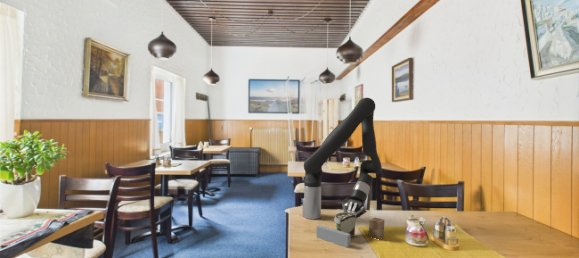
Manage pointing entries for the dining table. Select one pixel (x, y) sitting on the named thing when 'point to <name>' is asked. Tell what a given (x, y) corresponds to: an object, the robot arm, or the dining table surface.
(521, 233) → the dining table surface
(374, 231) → the walnut block
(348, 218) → the food container
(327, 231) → the rail
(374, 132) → the robot arm
